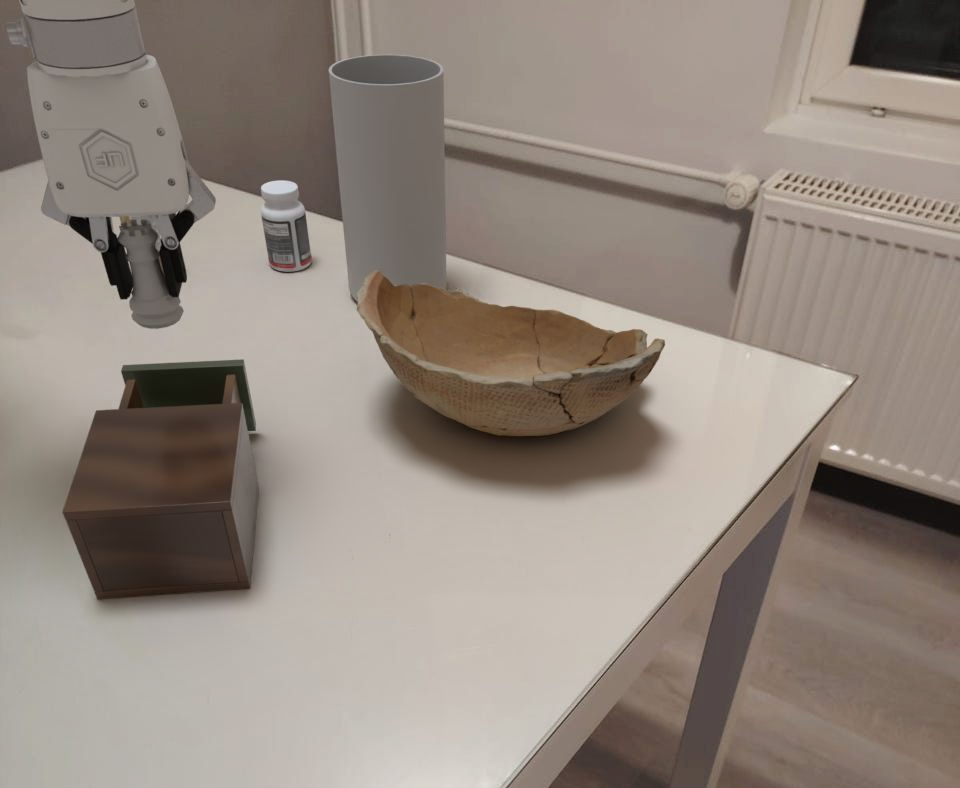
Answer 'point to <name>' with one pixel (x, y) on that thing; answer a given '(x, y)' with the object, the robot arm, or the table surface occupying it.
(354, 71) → the cylinder vase
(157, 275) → the rook chess piece
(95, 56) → the robot arm
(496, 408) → the ceramic bowl
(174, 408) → the cabinet
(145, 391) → the drawer
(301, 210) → the pill bottle
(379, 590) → the table surface
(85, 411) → the table surface
